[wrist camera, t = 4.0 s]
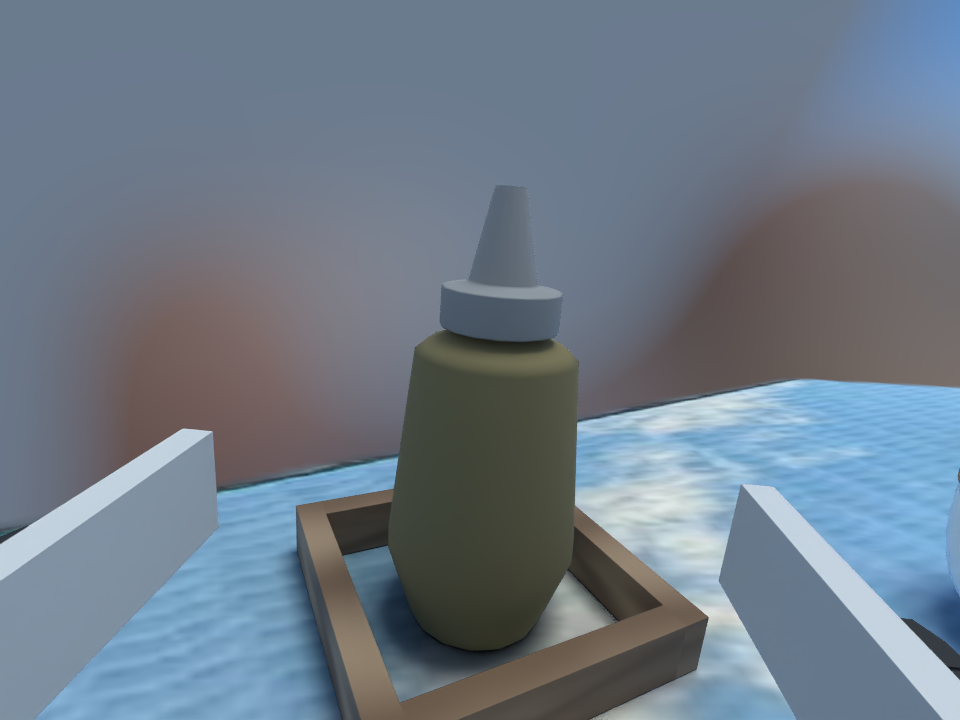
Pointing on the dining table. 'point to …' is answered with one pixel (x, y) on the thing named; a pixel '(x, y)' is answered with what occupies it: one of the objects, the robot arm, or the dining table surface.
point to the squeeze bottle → (488, 448)
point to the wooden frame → (520, 683)
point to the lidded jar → (954, 539)
